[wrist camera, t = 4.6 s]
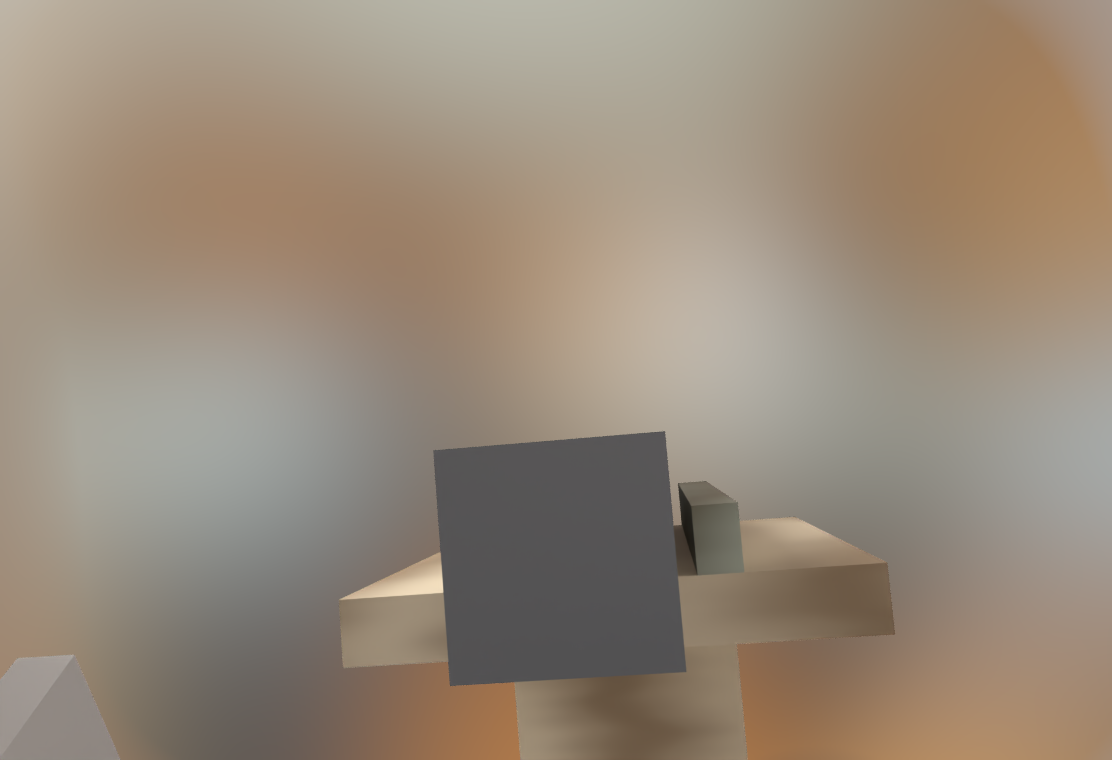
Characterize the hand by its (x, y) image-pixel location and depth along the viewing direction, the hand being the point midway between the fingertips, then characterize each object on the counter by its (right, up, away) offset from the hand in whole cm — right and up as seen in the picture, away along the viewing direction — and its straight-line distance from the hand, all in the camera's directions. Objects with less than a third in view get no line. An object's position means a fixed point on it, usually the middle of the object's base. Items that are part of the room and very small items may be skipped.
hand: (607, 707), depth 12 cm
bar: (+1, -1, +12) cm, 12 cm away
